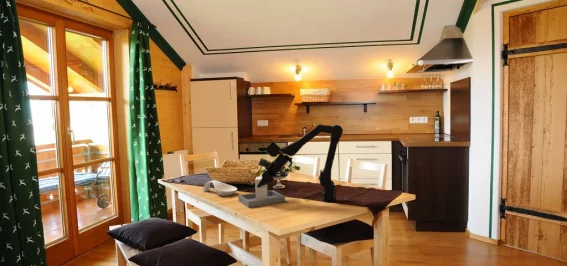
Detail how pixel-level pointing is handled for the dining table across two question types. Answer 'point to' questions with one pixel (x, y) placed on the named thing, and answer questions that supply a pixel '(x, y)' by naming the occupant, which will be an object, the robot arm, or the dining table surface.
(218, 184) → the spoon rest
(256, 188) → the small box
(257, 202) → the tray
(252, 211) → the dining table surface
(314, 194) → the dining table surface
